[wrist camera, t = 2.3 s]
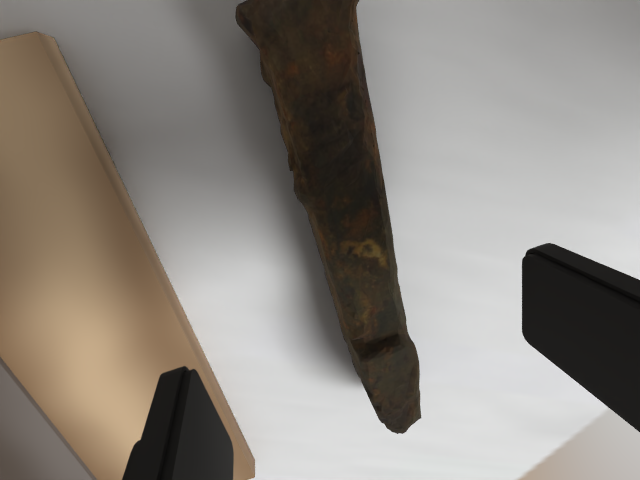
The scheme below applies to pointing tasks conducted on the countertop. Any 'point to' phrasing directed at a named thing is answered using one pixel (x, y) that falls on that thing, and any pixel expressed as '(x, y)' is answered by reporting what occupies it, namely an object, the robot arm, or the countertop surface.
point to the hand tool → (340, 184)
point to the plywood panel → (78, 289)
